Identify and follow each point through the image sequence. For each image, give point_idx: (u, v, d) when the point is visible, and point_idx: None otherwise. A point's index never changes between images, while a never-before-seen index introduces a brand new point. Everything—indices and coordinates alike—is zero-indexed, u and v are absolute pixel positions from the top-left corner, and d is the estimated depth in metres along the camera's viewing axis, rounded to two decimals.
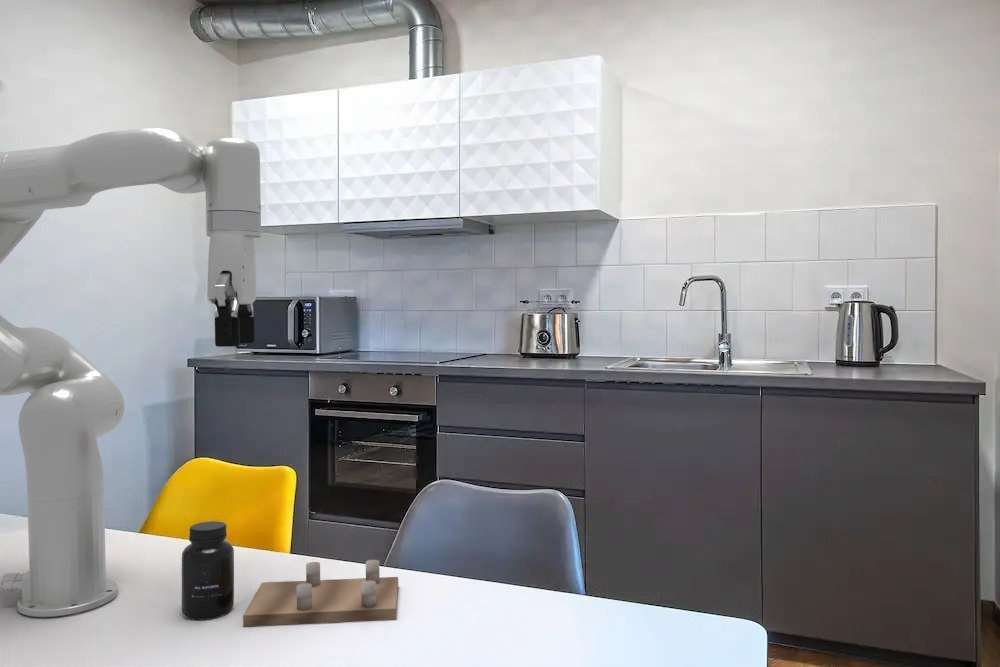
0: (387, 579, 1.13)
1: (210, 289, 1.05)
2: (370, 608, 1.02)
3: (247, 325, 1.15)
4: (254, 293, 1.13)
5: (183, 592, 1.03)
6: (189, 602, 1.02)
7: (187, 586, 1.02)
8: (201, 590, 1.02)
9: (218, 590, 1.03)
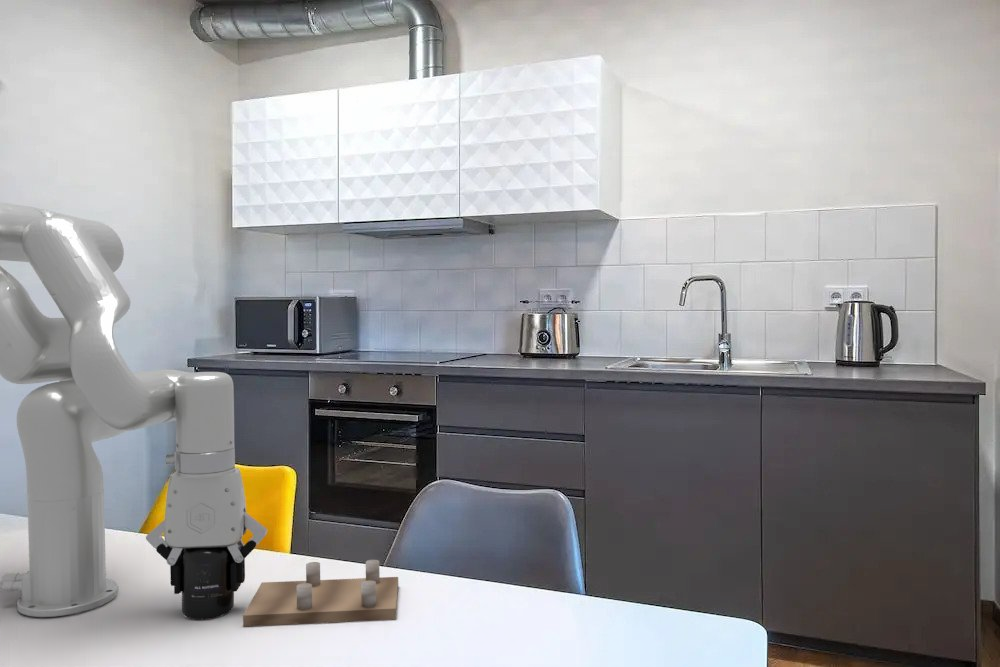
0: (387, 579, 1.13)
1: (240, 531, 1.03)
2: (370, 608, 1.02)
3: None
4: None
5: (183, 592, 1.03)
6: (189, 602, 1.02)
7: (187, 586, 1.02)
8: (201, 590, 1.02)
9: (218, 590, 1.03)
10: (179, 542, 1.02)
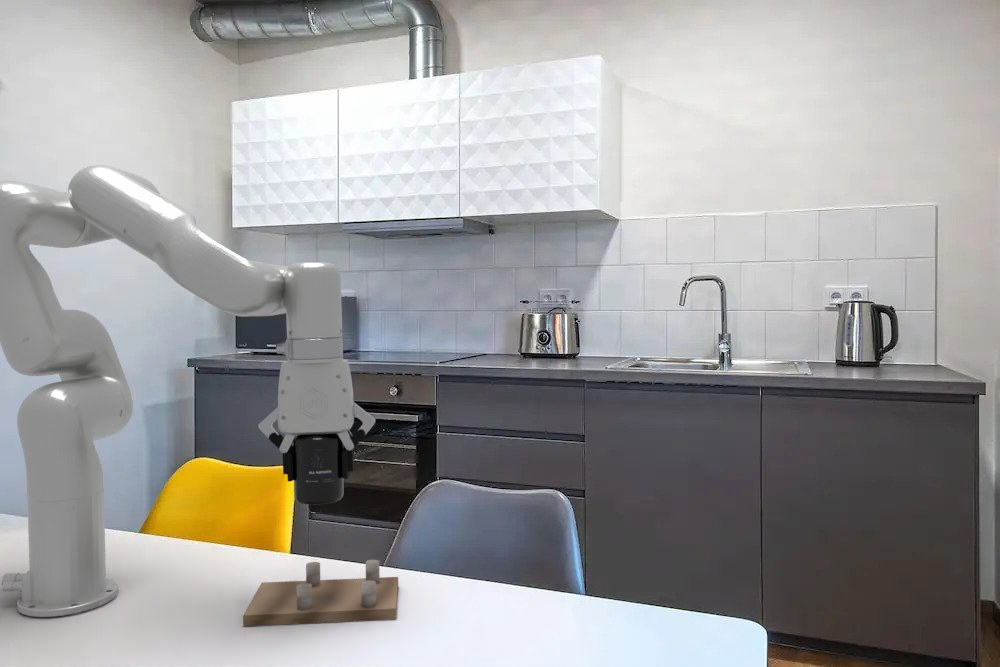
0: (387, 579, 1.13)
1: (352, 417, 1.04)
2: (370, 608, 1.02)
3: None
4: None
5: (296, 478, 1.04)
6: (303, 488, 1.03)
7: (301, 471, 1.03)
8: (315, 475, 1.03)
9: (331, 476, 1.04)
10: (293, 428, 1.03)
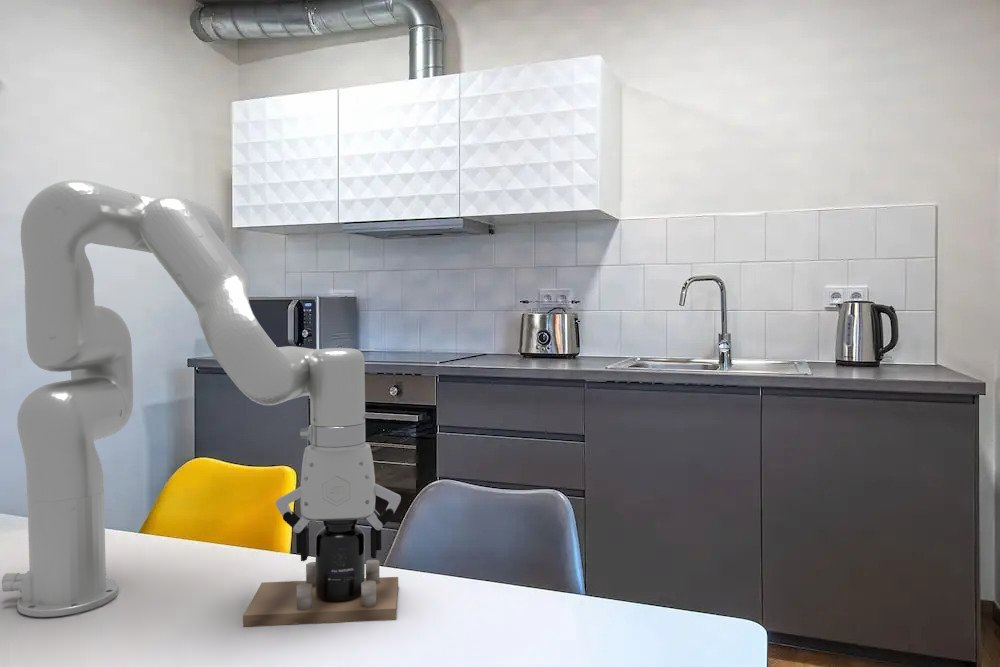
0: (387, 579, 1.13)
1: (373, 503, 1.05)
2: (370, 608, 1.02)
3: (308, 537, 1.07)
4: None
5: (318, 575, 1.05)
6: (325, 585, 1.04)
7: (323, 569, 1.04)
8: (337, 573, 1.04)
9: (353, 573, 1.05)
10: (315, 514, 1.04)
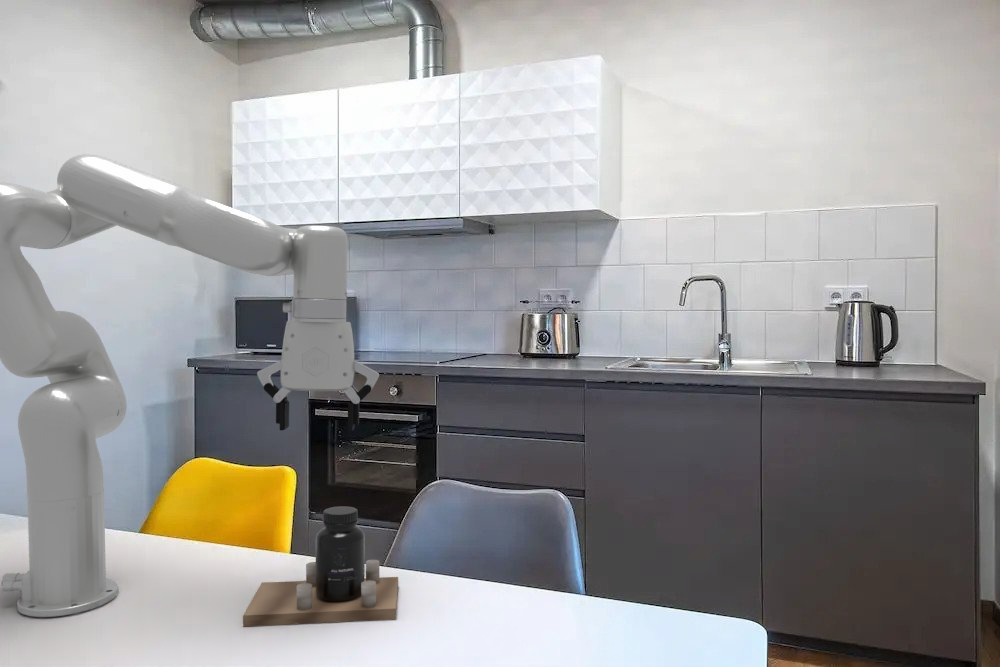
0: (387, 579, 1.13)
1: (351, 377, 1.08)
2: (370, 608, 1.02)
3: (288, 410, 1.11)
4: None
5: (318, 575, 1.05)
6: (325, 585, 1.04)
7: (323, 569, 1.04)
8: (337, 573, 1.04)
9: (353, 573, 1.05)
10: (294, 384, 1.07)
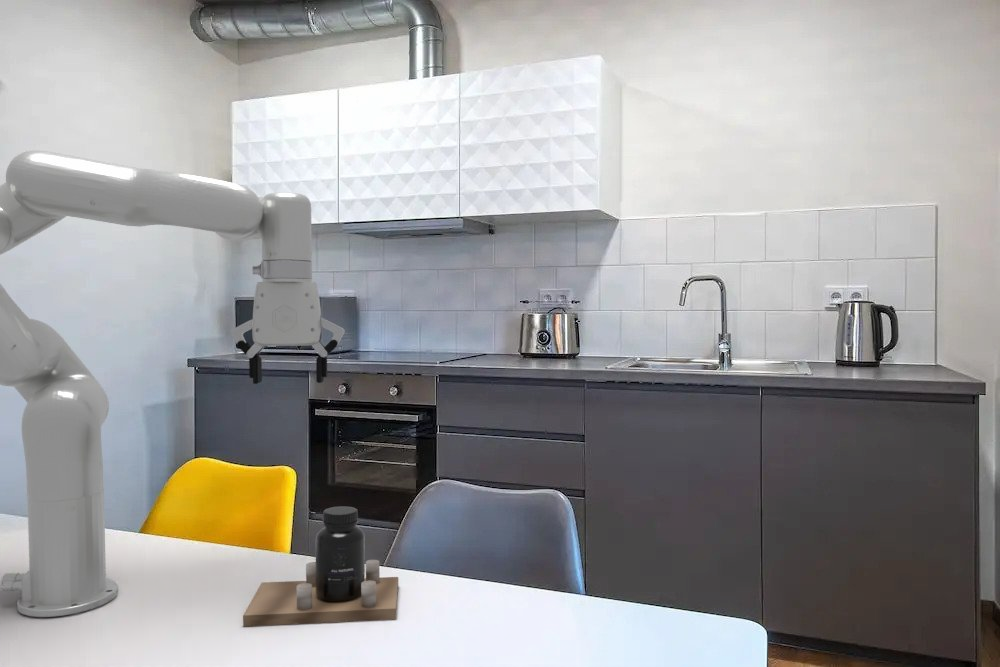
0: (387, 579, 1.13)
1: (318, 332, 1.17)
2: (370, 608, 1.02)
3: (260, 365, 1.19)
4: None
5: (318, 575, 1.05)
6: (325, 585, 1.04)
7: (323, 569, 1.04)
8: (337, 573, 1.04)
9: (353, 573, 1.05)
10: (265, 340, 1.16)
